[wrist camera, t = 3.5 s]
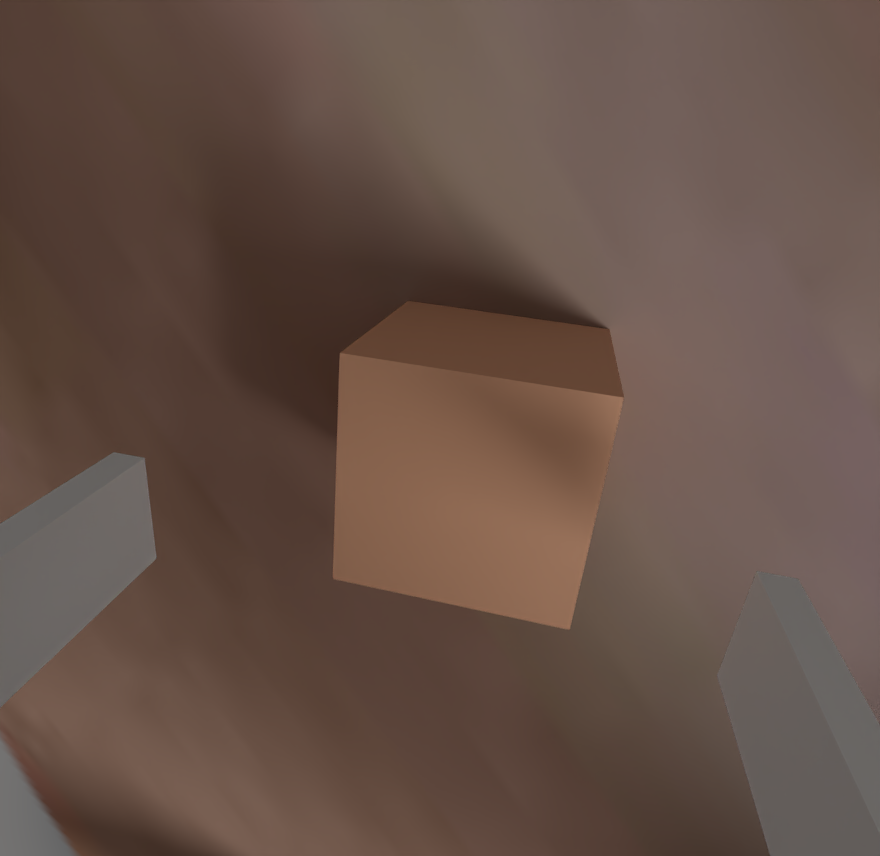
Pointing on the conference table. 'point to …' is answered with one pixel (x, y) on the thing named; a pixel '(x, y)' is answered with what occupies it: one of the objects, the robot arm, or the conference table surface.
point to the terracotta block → (473, 458)
